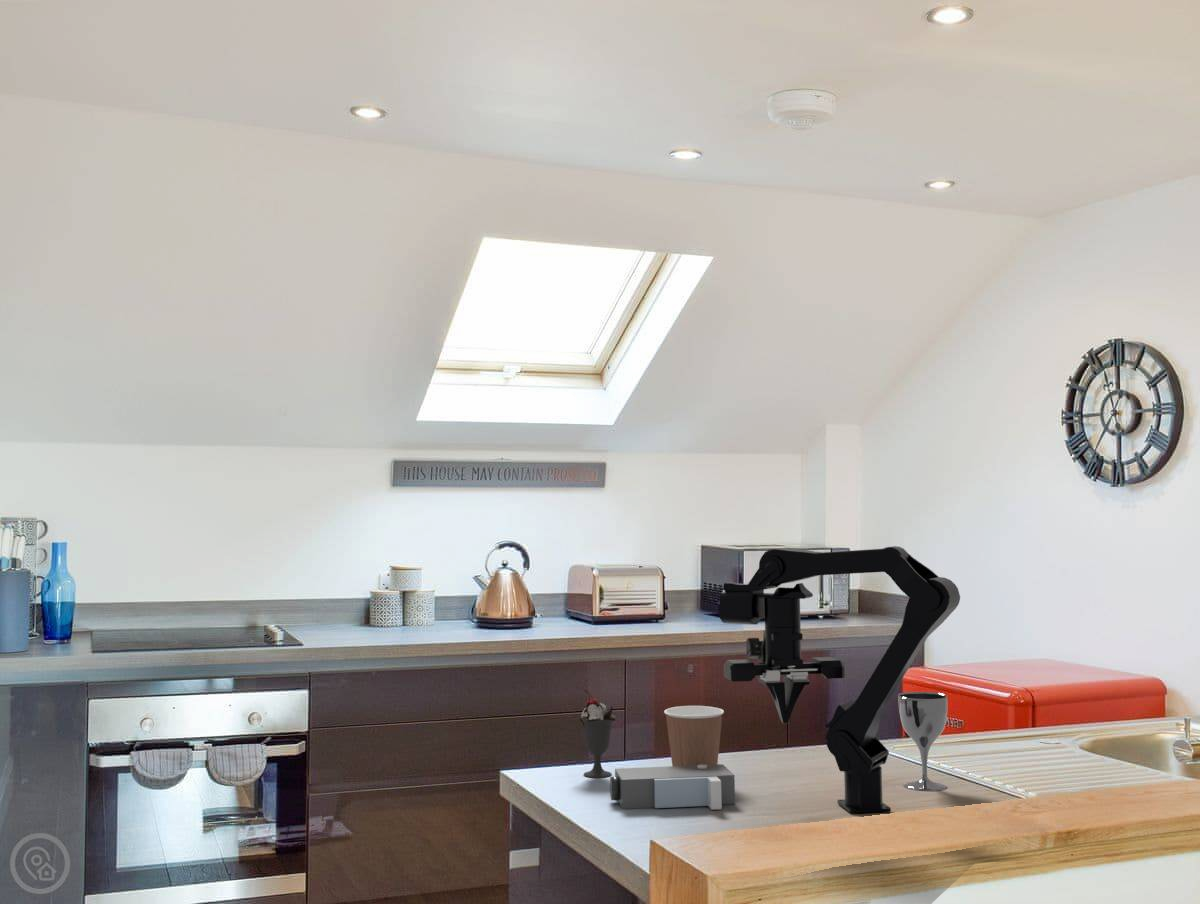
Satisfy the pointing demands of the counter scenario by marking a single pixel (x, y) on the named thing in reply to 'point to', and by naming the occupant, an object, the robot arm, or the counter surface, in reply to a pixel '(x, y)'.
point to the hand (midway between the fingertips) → (784, 723)
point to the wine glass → (923, 728)
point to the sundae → (596, 733)
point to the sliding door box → (639, 782)
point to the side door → (688, 792)
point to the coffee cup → (694, 734)
